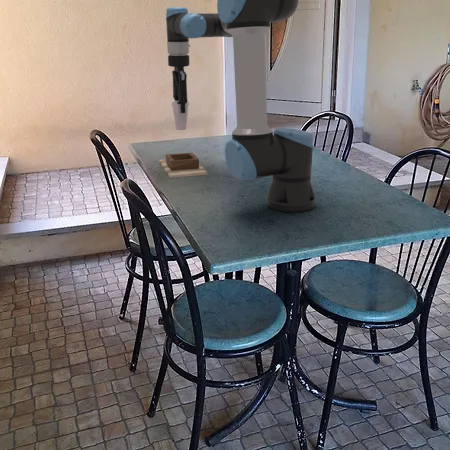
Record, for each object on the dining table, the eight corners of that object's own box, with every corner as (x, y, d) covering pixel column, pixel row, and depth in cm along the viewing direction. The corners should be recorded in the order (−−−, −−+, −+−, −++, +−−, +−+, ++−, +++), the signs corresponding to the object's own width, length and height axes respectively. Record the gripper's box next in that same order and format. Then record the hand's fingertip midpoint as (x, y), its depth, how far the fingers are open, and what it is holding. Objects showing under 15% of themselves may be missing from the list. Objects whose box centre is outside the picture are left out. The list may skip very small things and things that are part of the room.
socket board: (207, 174, 194) (207, 162, 192) (169, 178, 190) (169, 165, 188) (193, 159, 213) (193, 148, 211) (159, 162, 210) (158, 151, 208)
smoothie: (191, 127, 199) (190, 89, 193) (188, 130, 193) (187, 91, 187) (174, 127, 199) (172, 89, 194) (171, 130, 193) (169, 91, 188)
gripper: (195, 56, 178) (196, 124, 187) (183, 52, 195) (185, 114, 204) (173, 56, 176) (175, 125, 185) (163, 52, 194) (166, 116, 202)
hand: (180, 119), depth 195 cm, fingers closed on smoothie, 6 cm apart
